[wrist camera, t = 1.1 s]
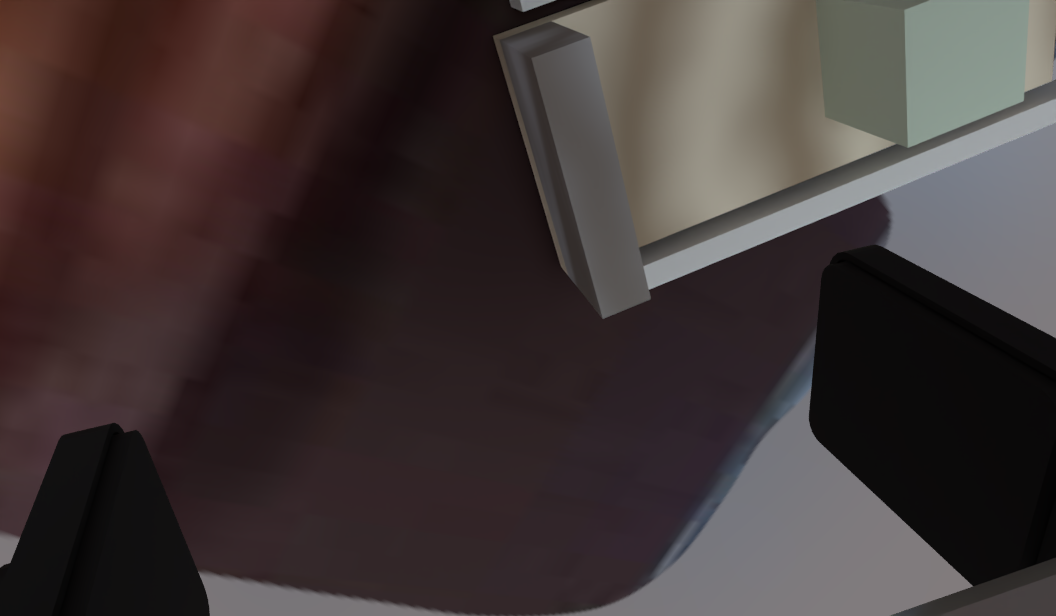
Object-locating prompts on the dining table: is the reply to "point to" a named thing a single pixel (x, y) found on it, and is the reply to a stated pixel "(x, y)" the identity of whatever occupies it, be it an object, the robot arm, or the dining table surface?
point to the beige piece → (677, 120)
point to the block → (920, 63)
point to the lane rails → (835, 186)
